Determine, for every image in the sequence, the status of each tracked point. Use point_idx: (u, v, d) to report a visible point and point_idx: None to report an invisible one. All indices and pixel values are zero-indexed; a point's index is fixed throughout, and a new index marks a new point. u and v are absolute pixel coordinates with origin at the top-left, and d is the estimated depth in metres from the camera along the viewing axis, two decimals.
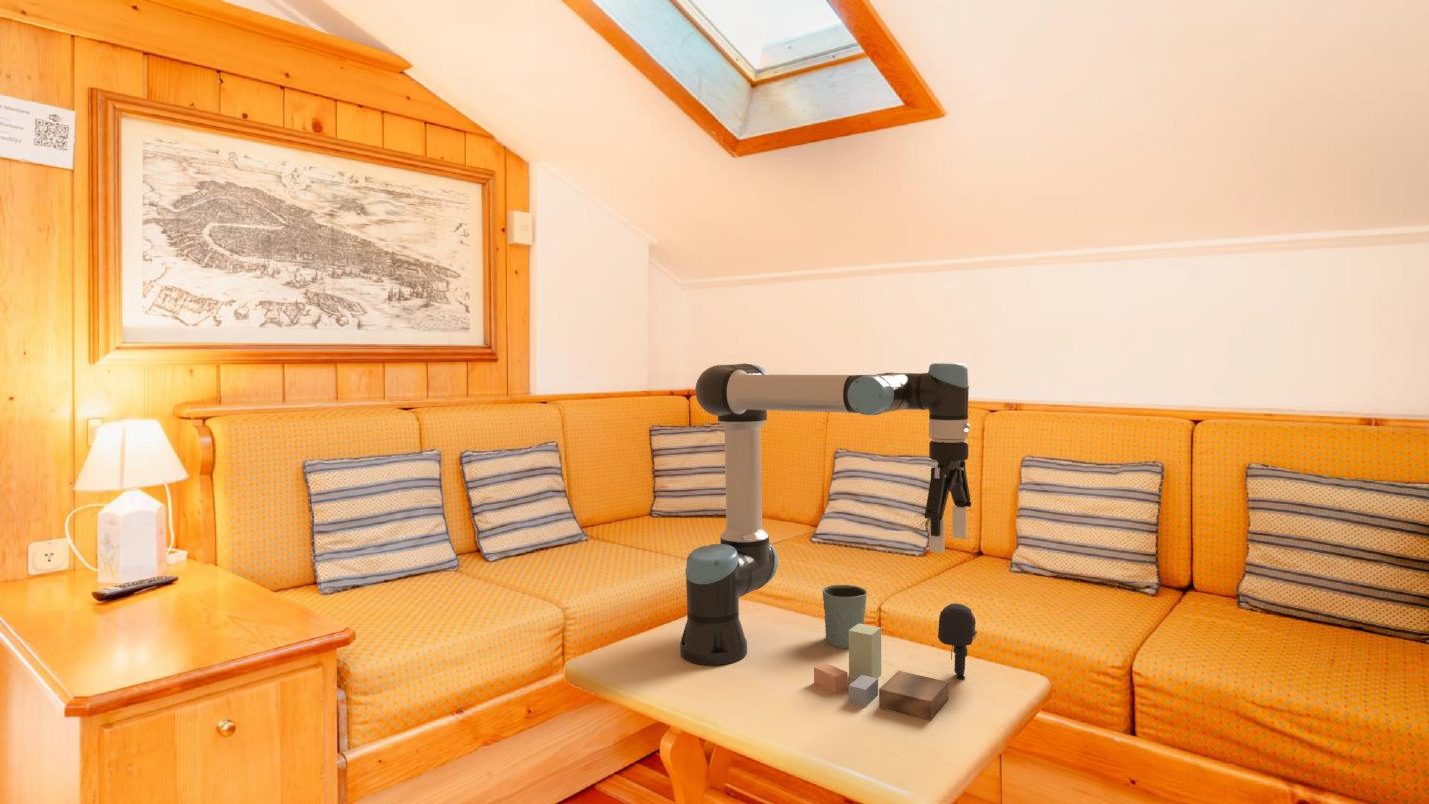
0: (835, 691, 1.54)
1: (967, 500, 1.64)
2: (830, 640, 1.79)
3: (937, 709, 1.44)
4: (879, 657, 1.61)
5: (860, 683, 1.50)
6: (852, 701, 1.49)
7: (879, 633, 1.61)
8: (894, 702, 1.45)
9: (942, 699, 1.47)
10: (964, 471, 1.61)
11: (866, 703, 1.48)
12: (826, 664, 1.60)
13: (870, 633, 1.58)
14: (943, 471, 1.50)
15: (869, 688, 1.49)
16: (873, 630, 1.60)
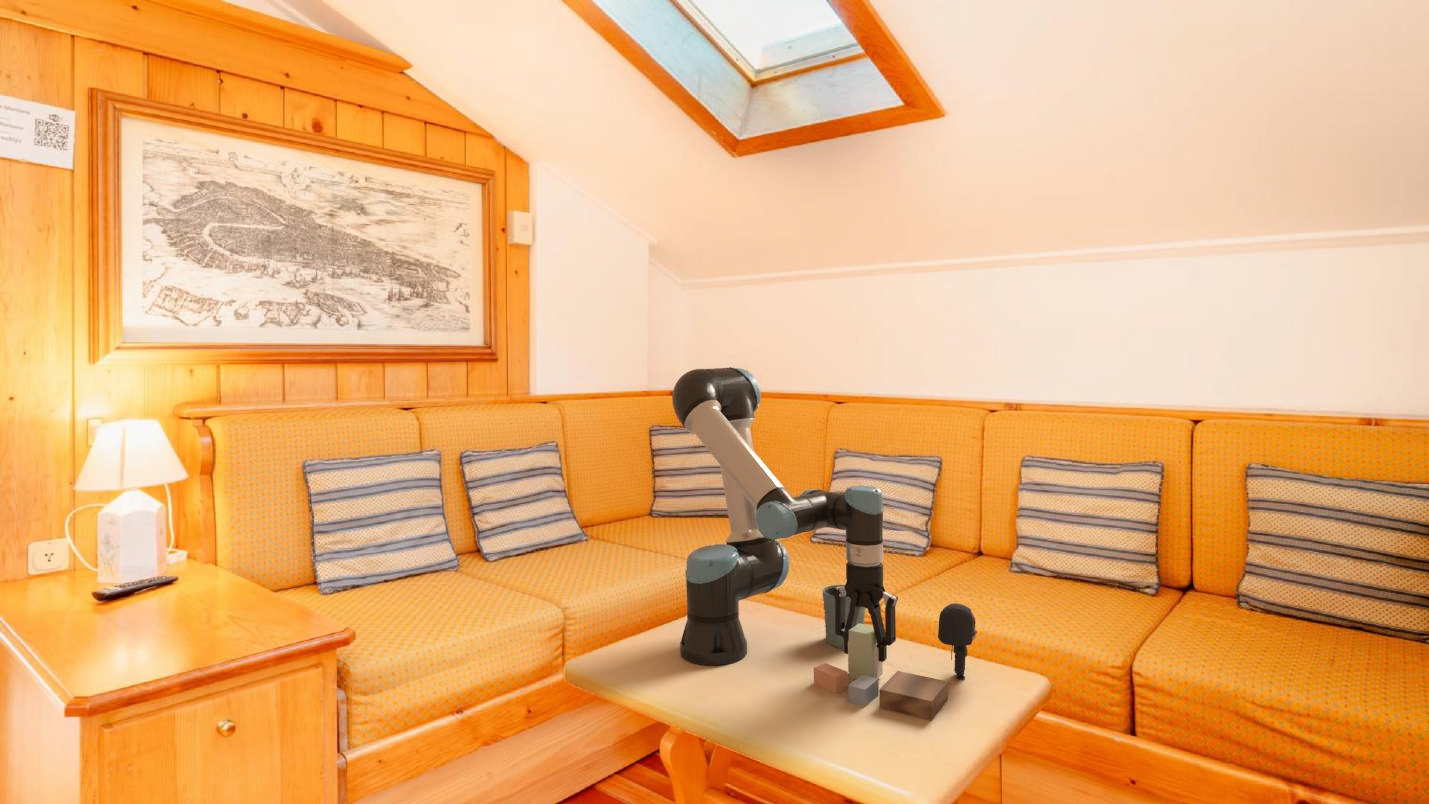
0: (836, 691, 1.54)
1: (886, 641, 1.57)
2: (830, 640, 1.79)
3: (937, 709, 1.44)
4: None
5: (860, 683, 1.50)
6: (852, 701, 1.49)
7: None
8: (895, 702, 1.45)
9: (942, 698, 1.47)
10: (887, 608, 1.57)
11: (865, 703, 1.48)
12: (825, 664, 1.60)
13: (870, 633, 1.58)
14: (833, 591, 1.63)
15: (868, 688, 1.49)
16: (873, 630, 1.60)
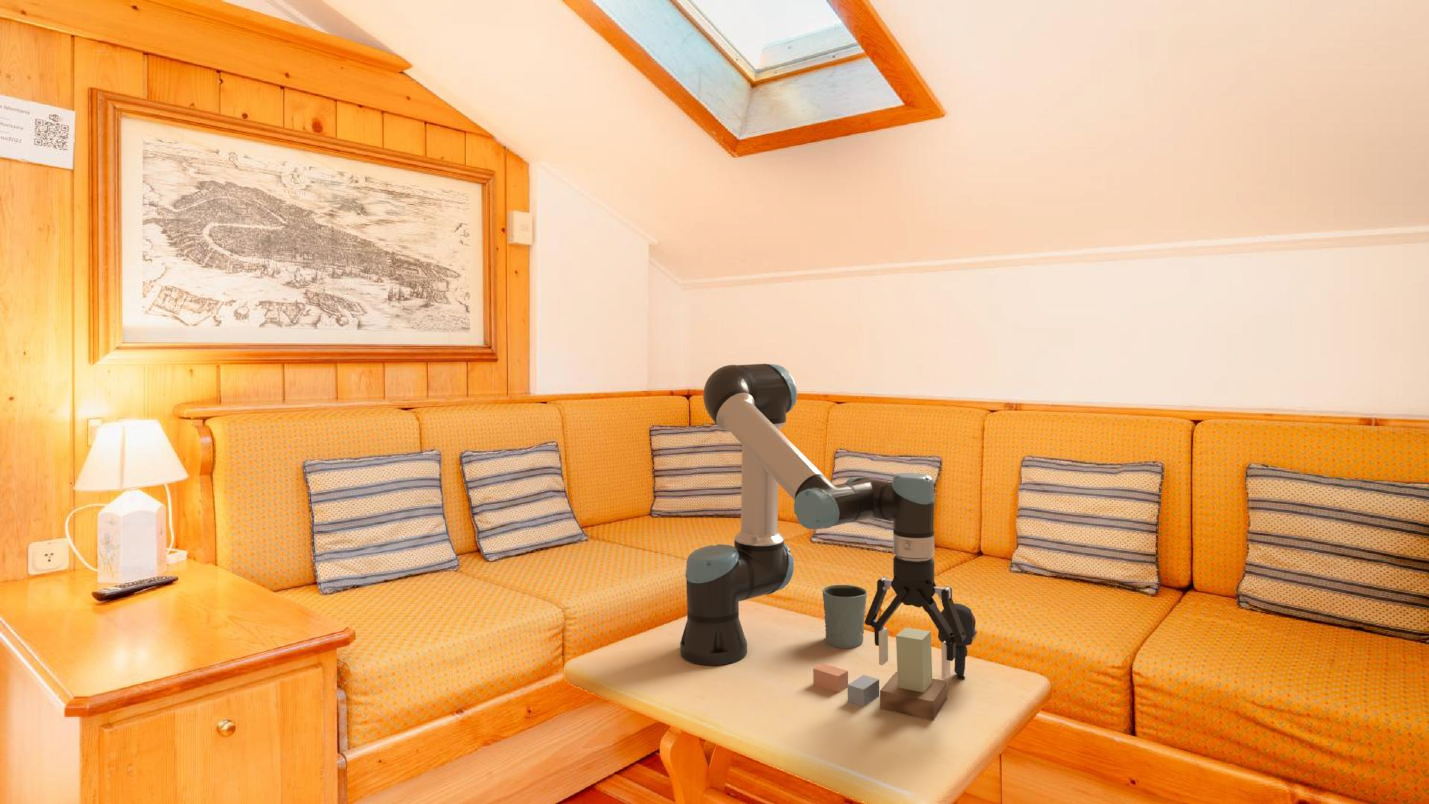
0: (838, 691, 1.54)
1: (956, 639, 1.42)
2: (830, 640, 1.79)
3: (938, 709, 1.45)
4: (930, 663, 1.48)
5: (860, 683, 1.50)
6: (851, 700, 1.49)
7: (928, 637, 1.48)
8: (896, 703, 1.45)
9: (942, 698, 1.47)
10: (944, 601, 1.43)
11: (864, 703, 1.48)
12: (824, 664, 1.60)
13: (920, 638, 1.45)
14: (878, 582, 1.50)
15: (868, 688, 1.49)
16: (922, 634, 1.47)
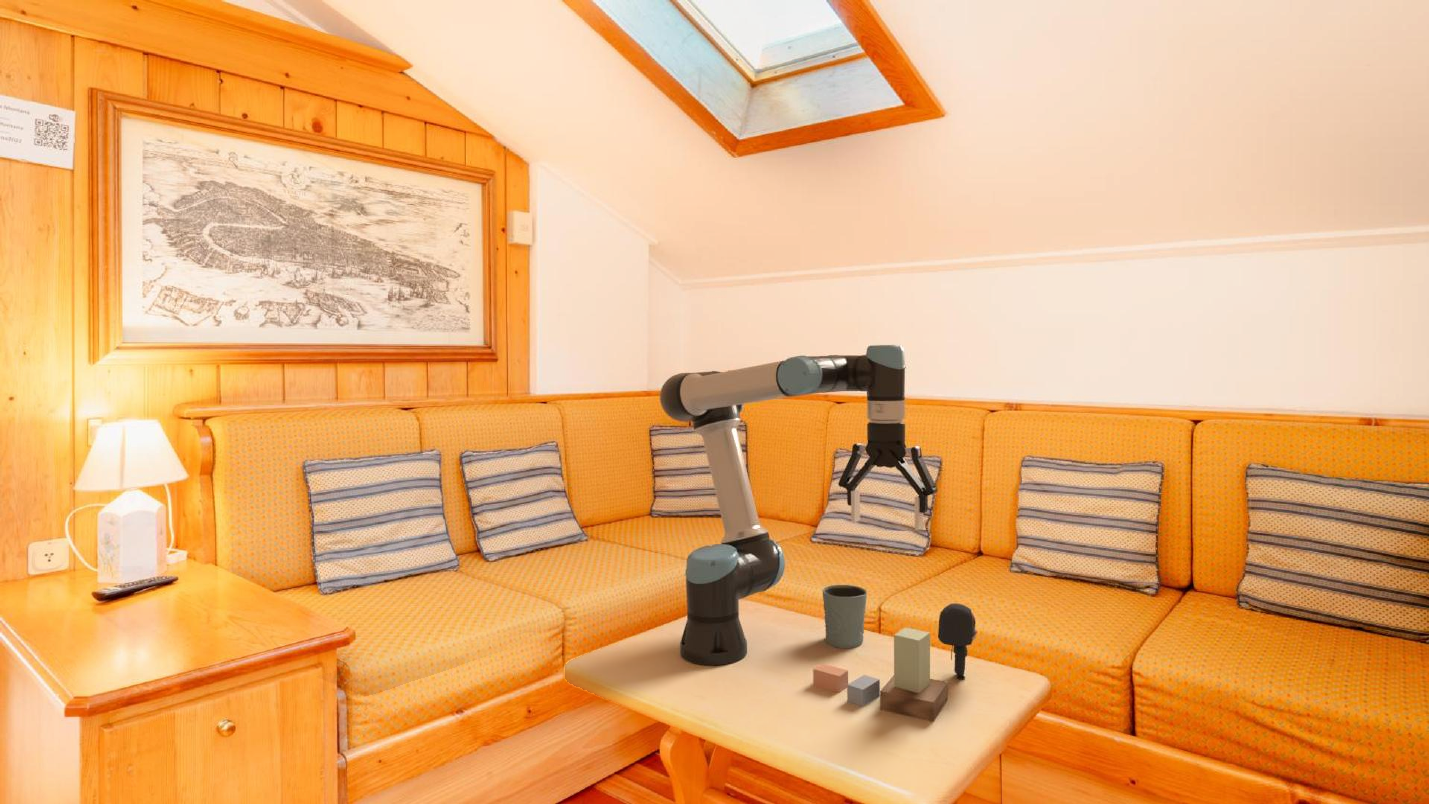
0: (839, 690, 1.54)
1: (927, 492, 1.53)
2: (830, 640, 1.79)
3: (938, 710, 1.44)
4: (928, 665, 1.48)
5: (860, 683, 1.50)
6: (850, 700, 1.49)
7: (927, 638, 1.47)
8: (896, 704, 1.45)
9: (943, 699, 1.47)
10: (914, 458, 1.54)
11: (863, 703, 1.48)
12: (823, 664, 1.59)
13: (918, 638, 1.45)
14: (853, 446, 1.61)
15: (867, 688, 1.49)
16: (921, 635, 1.47)
